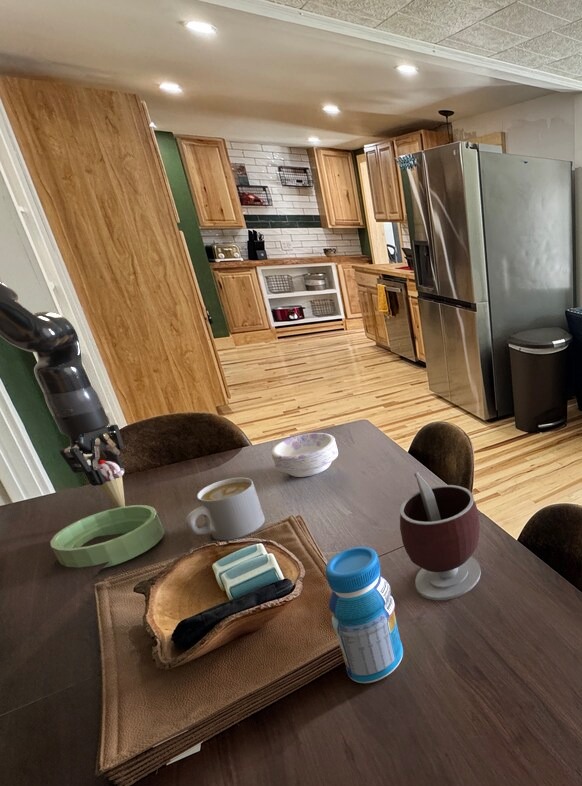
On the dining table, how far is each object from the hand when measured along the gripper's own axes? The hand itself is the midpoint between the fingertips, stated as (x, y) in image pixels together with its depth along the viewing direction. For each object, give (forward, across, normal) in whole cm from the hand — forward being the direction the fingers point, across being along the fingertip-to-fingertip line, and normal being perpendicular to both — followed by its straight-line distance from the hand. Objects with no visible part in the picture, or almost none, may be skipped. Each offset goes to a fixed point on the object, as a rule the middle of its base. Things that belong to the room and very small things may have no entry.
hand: (108, 477), depth 107 cm
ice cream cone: (+11, 0, 0) cm, 11 cm away
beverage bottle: (+11, +57, +64) cm, 86 cm away
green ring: (+11, +14, +6) cm, 19 cm away
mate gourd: (+11, +39, +74) cm, 84 cm away
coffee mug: (+11, +12, +26) cm, 31 cm away
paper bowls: (+11, -15, +35) cm, 40 cm away
